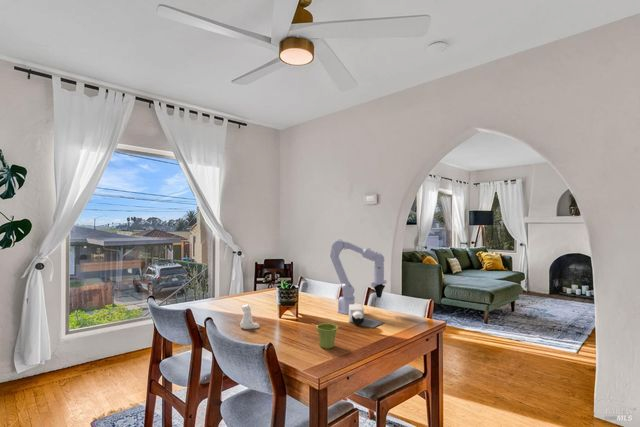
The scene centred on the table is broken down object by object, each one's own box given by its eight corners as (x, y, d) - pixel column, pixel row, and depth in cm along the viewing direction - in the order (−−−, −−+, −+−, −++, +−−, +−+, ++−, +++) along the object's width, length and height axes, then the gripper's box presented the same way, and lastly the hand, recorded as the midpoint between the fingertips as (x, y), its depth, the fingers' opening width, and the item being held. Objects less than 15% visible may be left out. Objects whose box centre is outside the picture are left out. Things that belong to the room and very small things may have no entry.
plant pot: (336, 342, 158) (336, 323, 158) (338, 350, 149) (338, 330, 149) (316, 342, 158) (316, 323, 158) (316, 350, 148) (316, 330, 148)
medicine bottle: (361, 316, 194) (364, 326, 183) (348, 316, 194) (351, 326, 182) (361, 304, 193) (365, 313, 181) (348, 304, 193) (351, 313, 181)
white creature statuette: (260, 327, 179) (260, 304, 179) (245, 331, 173) (245, 307, 173) (251, 323, 186) (251, 301, 186) (236, 326, 180) (236, 303, 180)
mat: (348, 322, 188) (348, 321, 188) (360, 317, 197) (360, 316, 197) (373, 328, 178) (373, 327, 178) (384, 322, 188) (384, 321, 188)
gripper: (379, 276, 197) (378, 300, 197) (390, 273, 208) (390, 296, 208) (368, 275, 201) (368, 298, 201) (380, 272, 213) (380, 294, 213)
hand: (378, 297), depth 205 cm, fingers closed
